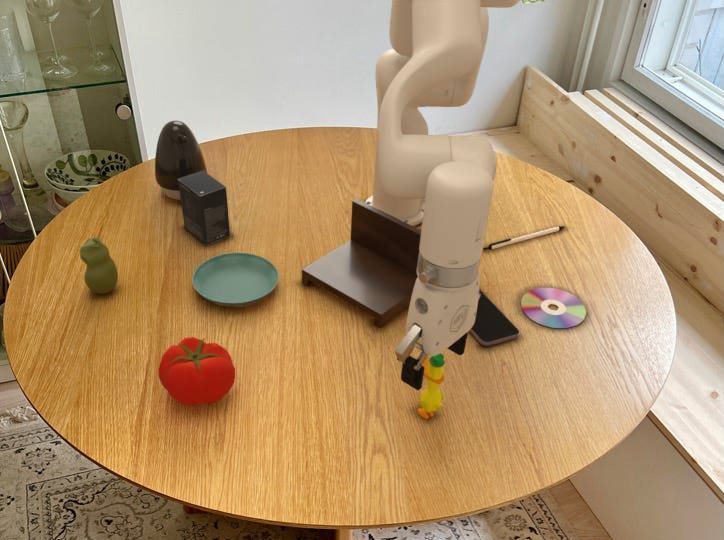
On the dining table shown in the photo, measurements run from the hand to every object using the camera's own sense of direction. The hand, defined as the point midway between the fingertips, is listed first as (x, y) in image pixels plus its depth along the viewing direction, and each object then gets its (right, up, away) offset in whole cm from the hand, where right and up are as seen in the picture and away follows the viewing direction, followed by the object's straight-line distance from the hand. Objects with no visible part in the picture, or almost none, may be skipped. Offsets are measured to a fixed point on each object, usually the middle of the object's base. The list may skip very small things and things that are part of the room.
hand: (432, 367), depth 104 cm
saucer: (-31, +14, +27) cm, 43 cm away
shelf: (-8, +15, +28) cm, 33 cm away
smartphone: (+10, +9, +23) cm, 27 cm away
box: (-38, +26, +39) cm, 61 cm away
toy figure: (0, -7, +7) cm, 10 cm away
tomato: (-34, -4, +8) cm, 35 cm away
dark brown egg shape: (-45, +36, +49) cm, 75 cm away
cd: (+24, +11, +26) cm, 36 cm away
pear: (-54, +14, +25) cm, 61 cm away
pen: (+22, +25, +41) cm, 53 cm away
